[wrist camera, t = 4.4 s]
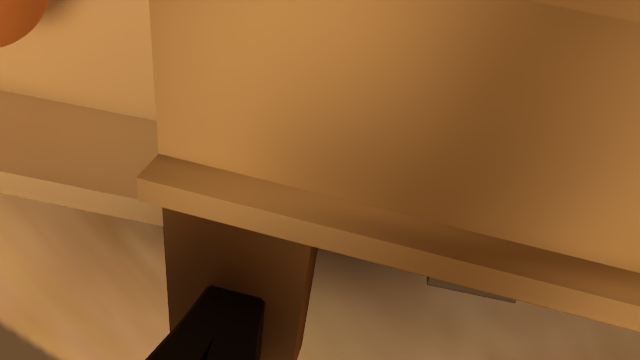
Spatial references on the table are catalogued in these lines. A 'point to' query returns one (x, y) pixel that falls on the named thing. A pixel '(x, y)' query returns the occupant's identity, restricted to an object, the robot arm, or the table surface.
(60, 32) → the tray
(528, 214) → the catapult lever
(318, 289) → the table surface
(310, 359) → the table surface
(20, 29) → the ball
